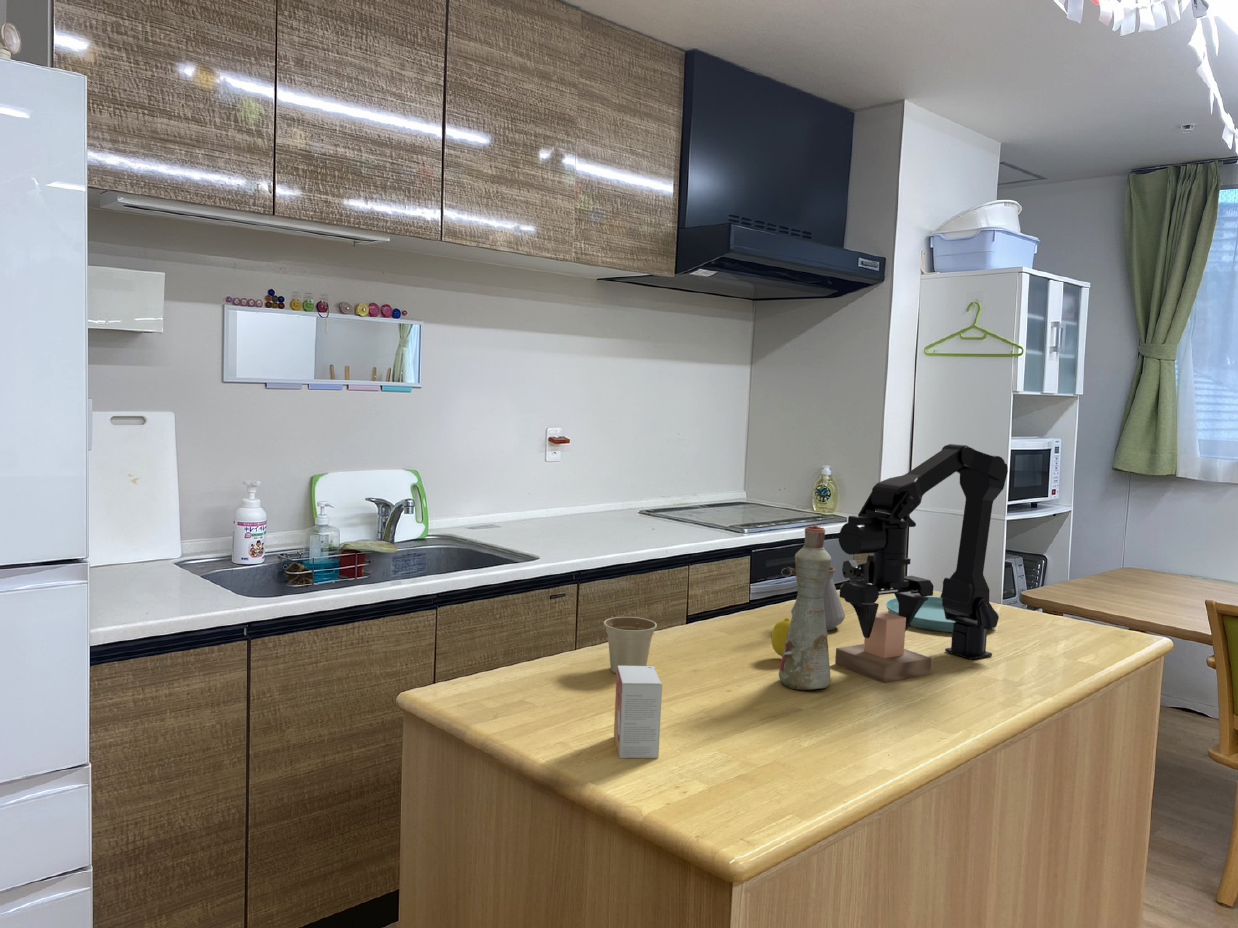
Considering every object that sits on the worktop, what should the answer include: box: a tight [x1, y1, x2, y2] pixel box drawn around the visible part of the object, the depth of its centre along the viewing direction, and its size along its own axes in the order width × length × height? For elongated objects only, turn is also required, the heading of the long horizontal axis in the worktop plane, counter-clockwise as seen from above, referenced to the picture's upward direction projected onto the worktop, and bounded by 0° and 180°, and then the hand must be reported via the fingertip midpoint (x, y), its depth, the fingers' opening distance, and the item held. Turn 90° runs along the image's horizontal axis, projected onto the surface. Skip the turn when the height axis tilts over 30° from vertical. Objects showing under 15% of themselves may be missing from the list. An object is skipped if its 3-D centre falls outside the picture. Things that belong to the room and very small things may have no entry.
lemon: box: [771, 617, 791, 658], centre depth 171 cm, size 6×6×8 cm
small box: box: [613, 665, 663, 759], centre depth 126 cm, size 8×6×10 cm
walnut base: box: [834, 643, 933, 683], centre depth 167 cm, size 12×12×3 cm
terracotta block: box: [863, 611, 906, 658], centre depth 167 cm, size 5×5×7 cm
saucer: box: [885, 596, 1000, 633], centre depth 206 cm, size 24×24×3 cm
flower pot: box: [603, 616, 658, 675], centre depth 160 cm, size 9×9×9 cm
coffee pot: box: [781, 566, 846, 631], centre depth 193 cm, size 21×12×15 cm, turn 141°
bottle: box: [778, 524, 832, 691], centre depth 155 cm, size 9×9×28 cm
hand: (884, 635), depth 167 cm, fingers open, 9 cm apart
